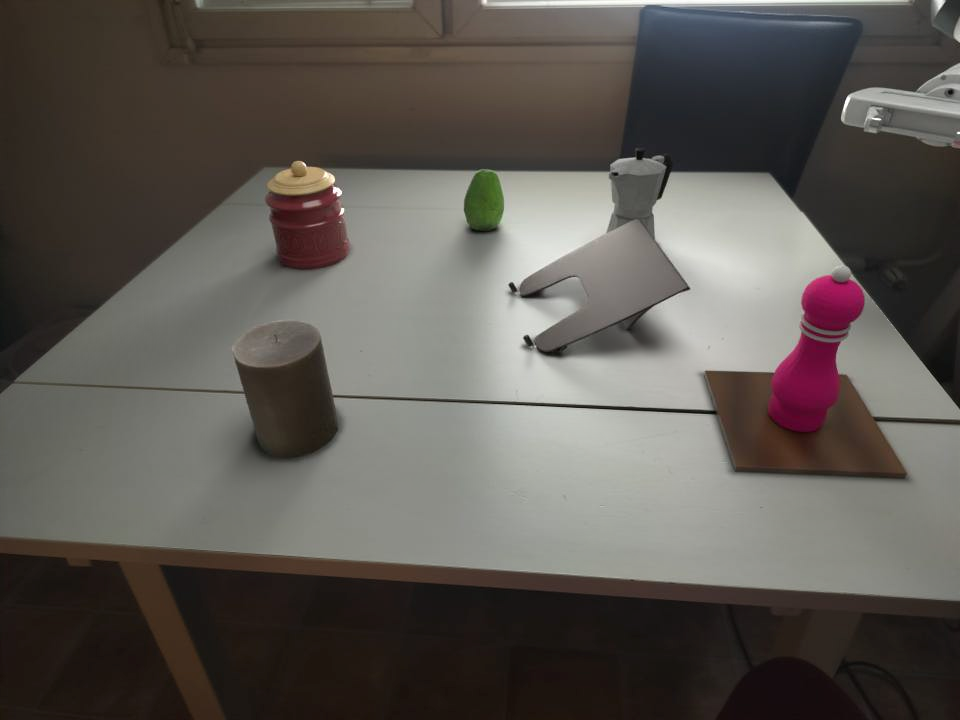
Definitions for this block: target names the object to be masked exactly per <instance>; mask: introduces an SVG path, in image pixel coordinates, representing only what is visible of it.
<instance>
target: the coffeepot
mask: <svg viewBox="0 0 960 720" xmlns="http://www.w3.org/2000/svg"><path fill="white" fill-rule="evenodd" d="M645 152H646V149H645V148H643V147H637V148H635V149H634V155H635V156H634V157H627V158H626V157H625V158H618V159H616V160H615V161H613V162H612V163H611V164H610V165H609V166H610V167H609V168H610V169H609V170H610V171H609V172H610V173H608V179H609V180H610V186H611V187H610V188H611V201H612V203H613V204H614V205H613V206H614V207H613V211H612V212H611V215H610V219H609V223H608V226H607V230H606V233H605V234H607V233H609V232H611V231H613V230H615V229H617V228H619V227H621V226H623V225H625V224H627V223H629V222H631V221H633V220H635V219H637V218H639V219H640V220H641V222H642V223H643V225H644V226H645V227H646V229H647V230H648V231H649V233H650V234H651V235H652V237H653V238H654V239H655V240H656V233H655V215H654V213H653V210H654V209H653V208H654V206H655V205H656V204H657V202H658V201H659V200H661V199H662V198H663V195H664V192H665V189H666V187H667V184H668V181H669V179H670V176H671V173H672V170H673V168H674V160H673V158H672V157H671V155H670V154H669V153H664V154H661V155H655V156H652V157H651V158H646V157H644V155H645Z"/></svg>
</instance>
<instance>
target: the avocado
mask: <svg viewBox="0 0 960 720" xmlns="http://www.w3.org/2000/svg"><path fill="white" fill-rule="evenodd" d="M504 211H505V197H504V194H503V189H502V183H501V181H500V178H499V176H498V174H497V172H496V171H495V170H491V169H487V168H486V169H485V168H481V169H479V170H478V171H476V172H475V173H474V175H473V177H472V179H471V181H470V183H469V185H468V187H467V190H466V193H465V196H464V200H463V213H464V216H465V219H466V223H467V224H468V226H469V227H470V228H471V229H473V230H475V231H476V232H477V231H478V232H488V231H491V230H494V229H496V228H497V227H498V226H499V225H500V223H501V221H502V219H503V215H504Z"/></svg>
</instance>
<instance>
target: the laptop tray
mask: <svg viewBox="0 0 960 720" xmlns="http://www.w3.org/2000/svg"><path fill="white" fill-rule="evenodd" d="M606 233H607V232H606ZM606 233H605V234H602V235H601V236H599V237H597V238H595V239H593V240H592V241H589V242H587V243H585V244H584V245H582V246H580V247H578V248H575V249H574V250H572V251H571V252H569V253H567V254H565V255H563V256H561V257H560V258H558V259H555V260H554V261H552V262H551V263H548V264H546V265H545V266H544V267H542V268H540V269H539V270H537V271H535V272H534V273H532V274H530V275H528V276H527V277H526V278H524V279H523V280H522V281H521V283H520V285H519V291H518V288H517V286H516V285H515V283H514V282H513V281H510V282H509V283H508V288H509V289H510V291H511V292H512V294H513V295H520V296H521V297H526V296H529V295H532V294H535V293H537V292H540V291H542V290H545V289H547V288H550V287H552V286H554V285H556V284H559V283H561V282H563V281H566V280H567V279H571V278H577V279H579V281H580V283H581V285H582V287H583V290H584V291H585V293H586V295H587V298H588V300H587V301H588V302H587V303H586V305H585V306H583V307H582V308H581V309H579V310H577V311H574V312H573V313H572V314H570V315H568V316H567V317H565V318H563V319H561V320H560V321H558V322H557V323H555V324H553V325H551V326H550V327H548V328H547V329H545V330H543V331H542V332H540V333H539V334H537V335H536V336H535V337H534V342H533V340H532V339H531V337H530V335H529V334H524V336H523V337H522V339H523V341H524V342H525V344H526V347H528V348H529V349H537V348H538V349H539V351H541V352H543V353H550V352H551V353H552V354H554V355H556V354H559V355H561V354H563V353H564V351H565V350H567V348H568V346H569V345H571V344H574V343H577V342H579V341H581V340H583V339H586V338H588V337H590V336H593V335H595V334H598V333H601V331H604V330H606V329H609V328H611V327H613V326H615V325H617V324H618V323H623V324H622V325H624V327H625V330H626V331H629V330H630V329H631V328H632V327H633V326H634V325H635V323H637V321H639V319H641V318H642V316H643V315H645V314H646V313H647V312H648V311H650V310H651V309H652V308H654V307H655V306H657V305H659V304H661V303H663V302H664V301H667V300H669V299H671V298H673V297H675V296H676V295H679V294H682V293H684V292H688V291H690V290H691V287H690V285H689V284H688V283H687V281H686V280H685V279H684V277H683V276H682V275H681V273H680V272H679V271H678V269H677V268H676V267H675V265H674V264H673V262H672V261H671V260H670V259H669V257H668V256H667V254H666V253H665V252H664V251H663V249H662V247H661V245H659V243H658V242H657V241H656V238H655V239H654V238H653V237H652V235H651V234H650V233H649V231H648V230H647V229H646V227H645V226H644V225H643V223H642V222H641V220H640V219H639V218H637V219H635V220H633V221H631V222H629V223H627V224H625V225H623V226H621V227H619V228H617V229H615V230H613V231H611V232H609V233H607V234H606ZM534 343H535V344H534Z"/></svg>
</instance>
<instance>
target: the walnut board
mask: <svg viewBox="0 0 960 720" xmlns="http://www.w3.org/2000/svg"><path fill="white" fill-rule="evenodd" d="M774 372H775V371H774ZM774 372H771V371H770V372H769V371H740V370H739V371H737V370H704V373H703V377H704V379H705V382H706V383H705V384H706V387H707V389H708V392H709V395H710V398H711V402H712V404H713V408H714V412H715V414H716V417H717V420H718V423H719V426H720V429H721V433H722V436H723V439H724V442H725V445H726V448H727V452H728V454H729V458H730V461H731V464H732V467H733V470H734V472H737V473H738V472H740V473H761V474H762V473H763V474H764V473H765V474H785V475H786V474H787V475H789V474H790V475H807V476H809V475H812V476H832V477H834V476H835V477H860V478H883V479H906V477H907V475H908V472H907V471H906V469H905V468H904V466H903V464H902V462H901V460H900V459H899V457H898V456H897V454H896V453H895V451H894V449H893V448H892V446H891V444H890V443H889V441H888V439H887V438H886V436H885V434H884V433H883V431H882V429H881V428H880V426H879V425H878V424H877V422H876V420H875V419H874V417H873V415H872V413H871V412H870V410H869V409H868V407H867V405H866V404H865V402H864V400H863V399H862V398H861V395H860V394H859V392H858V391H857V389H856V387H855V386H854V384H853V382H852V381H851V379H850V378H849V376H848V374H844V373H843V374H839V373H838V374H839V380H840V391H839V395H838V399H837V401H836V402H835V404H834V405H832V406H831V407H830V408H828V409H827V415H826V418H825V420H824V423H823V425H822V426H821V427H820V428H819V429H818V430H815V431H812V432H798V431H793V430H789V429H786V428H784V427H782V426H780V425H779V424H777V423H776V422H775V421H774V420H773V419H772V418H771V417H770V415H769V413H768V406H769V403H770V399H771V396H772V395H773V394H774V393H773V391H772V388H771V380H772V377H773V375H774Z"/></svg>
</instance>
